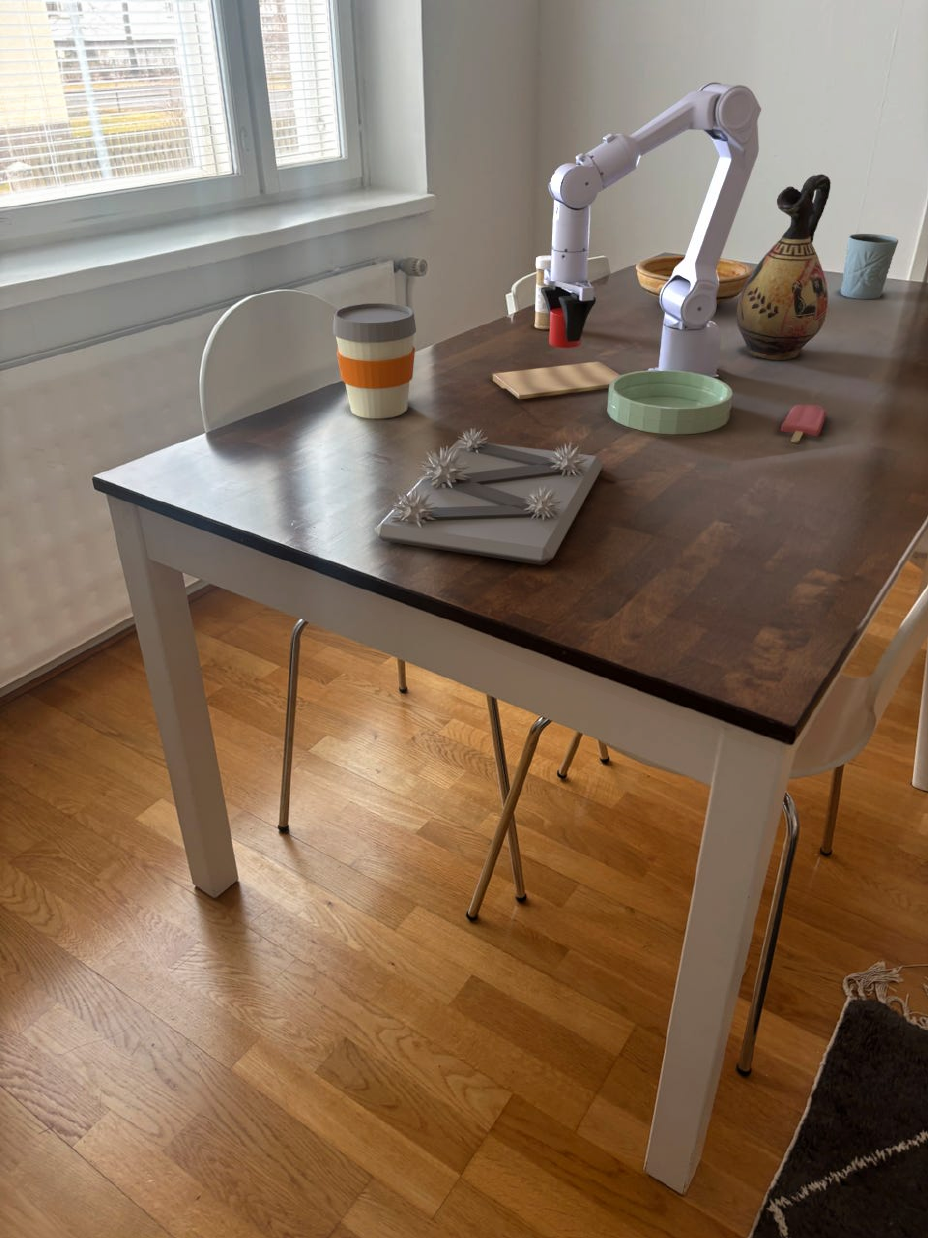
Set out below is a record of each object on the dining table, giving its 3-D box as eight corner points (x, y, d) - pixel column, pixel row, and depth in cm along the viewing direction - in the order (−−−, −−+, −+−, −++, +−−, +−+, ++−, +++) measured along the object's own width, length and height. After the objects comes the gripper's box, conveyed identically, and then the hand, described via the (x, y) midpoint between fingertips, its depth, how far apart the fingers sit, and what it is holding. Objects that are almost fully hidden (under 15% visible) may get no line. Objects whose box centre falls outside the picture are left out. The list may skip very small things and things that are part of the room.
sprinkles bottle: (557, 324, 193) (561, 254, 186) (555, 330, 190) (558, 259, 182) (535, 323, 194) (537, 254, 187) (532, 329, 190) (534, 259, 183)
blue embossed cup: (834, 288, 218) (844, 232, 212) (880, 289, 217) (892, 233, 211) (842, 299, 210) (854, 241, 203) (890, 300, 208) (903, 242, 202)
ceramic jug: (787, 371, 166) (820, 184, 151) (714, 352, 176) (738, 175, 160) (839, 352, 176) (875, 174, 160) (767, 335, 186) (794, 166, 170)
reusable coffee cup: (365, 391, 159) (359, 298, 151) (432, 402, 154) (430, 307, 146) (323, 415, 149) (315, 317, 141) (393, 427, 144) (389, 327, 136)
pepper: (572, 337, 160) (574, 297, 156) (586, 346, 156) (588, 304, 152) (544, 340, 158) (545, 300, 155) (557, 349, 154) (559, 307, 151)
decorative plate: (549, 573, 106) (552, 515, 102) (371, 545, 112) (367, 489, 108) (604, 470, 130) (608, 420, 126) (455, 452, 136) (454, 404, 132)
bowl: (688, 391, 158) (691, 364, 155) (752, 429, 143) (756, 400, 140) (587, 404, 152) (589, 377, 150) (642, 445, 138) (645, 415, 135)
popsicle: (776, 433, 137) (793, 401, 148) (774, 444, 138) (791, 411, 149) (815, 439, 135) (829, 406, 146) (813, 449, 136) (827, 416, 147)
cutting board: (598, 367, 169) (598, 361, 168) (630, 388, 159) (630, 381, 159) (492, 380, 163) (492, 373, 163) (519, 402, 154) (519, 395, 153)
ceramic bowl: (657, 285, 222) (661, 249, 218) (762, 296, 212) (768, 258, 208) (611, 314, 200) (614, 274, 196) (726, 328, 190) (732, 287, 186)
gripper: (528, 242, 154) (525, 327, 161) (566, 259, 142) (561, 350, 150) (568, 239, 156) (564, 323, 163) (608, 256, 144) (602, 345, 152)
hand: (565, 336), depth 156 cm, fingers closed on pepper, 5 cm apart
